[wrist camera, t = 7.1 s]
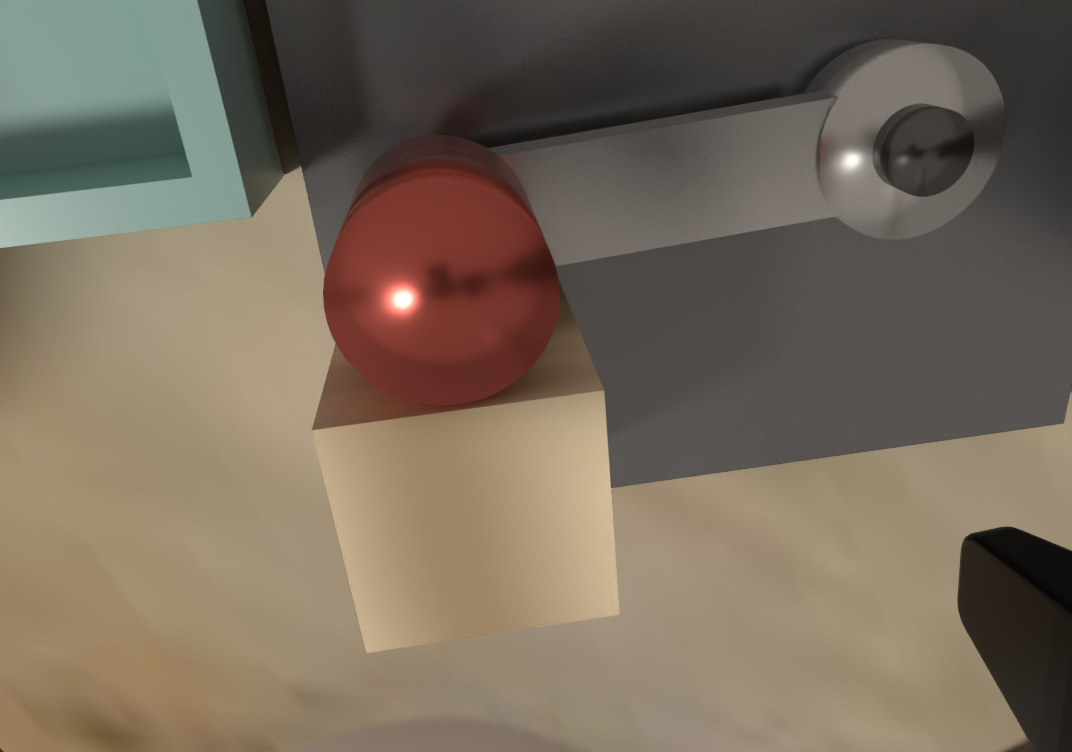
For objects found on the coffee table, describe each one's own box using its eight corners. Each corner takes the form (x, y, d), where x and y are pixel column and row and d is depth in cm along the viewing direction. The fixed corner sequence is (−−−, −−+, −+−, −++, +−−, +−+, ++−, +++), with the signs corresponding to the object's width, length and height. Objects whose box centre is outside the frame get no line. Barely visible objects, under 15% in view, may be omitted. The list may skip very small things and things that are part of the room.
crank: (965, 24, 15) (1186, 43, 10) (952, 203, 16) (1142, 286, 12) (335, 131, 14) (292, 198, 10) (378, 305, 16) (356, 429, 11)
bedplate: (1237, -627, 12) (1297, -671, 11) (1040, 407, 19) (1067, 425, 19) (156, -551, 11) (134, -594, 10) (380, 500, 19) (378, 524, 18)
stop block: (556, 275, 16) (603, 390, 11) (572, 453, 18) (619, 614, 13) (347, 301, 16) (311, 430, 11) (384, 480, 17) (366, 652, 13)
